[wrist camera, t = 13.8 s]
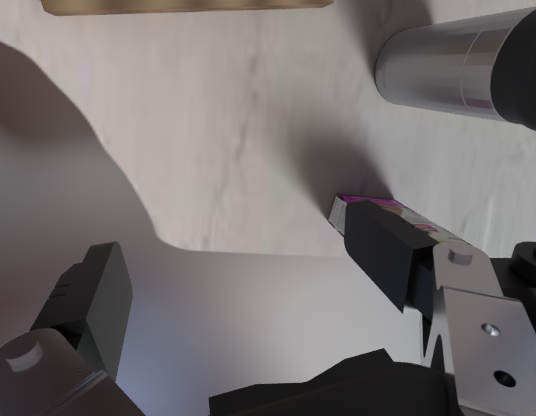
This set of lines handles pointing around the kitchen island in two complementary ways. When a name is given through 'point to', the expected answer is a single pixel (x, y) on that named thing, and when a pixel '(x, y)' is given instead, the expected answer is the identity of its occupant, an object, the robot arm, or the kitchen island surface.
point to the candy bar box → (393, 206)
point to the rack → (169, 6)
